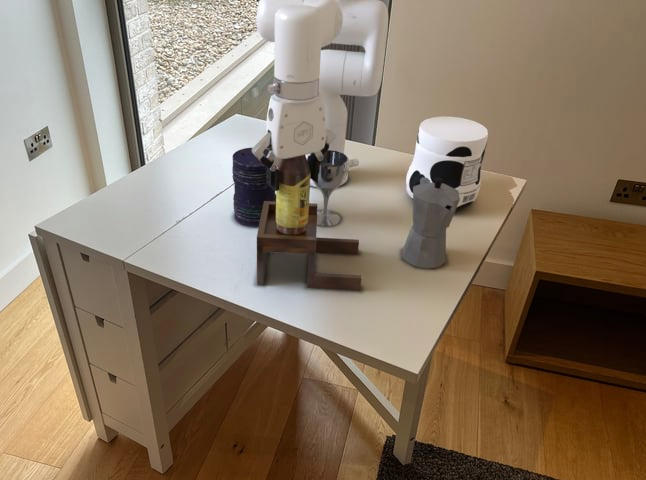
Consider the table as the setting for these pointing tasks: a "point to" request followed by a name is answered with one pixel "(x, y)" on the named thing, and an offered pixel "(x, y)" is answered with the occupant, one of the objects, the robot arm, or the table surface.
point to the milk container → (450, 155)
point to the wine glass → (330, 183)
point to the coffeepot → (430, 222)
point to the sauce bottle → (293, 195)
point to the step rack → (304, 249)
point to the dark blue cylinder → (250, 187)
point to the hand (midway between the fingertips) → (293, 182)
